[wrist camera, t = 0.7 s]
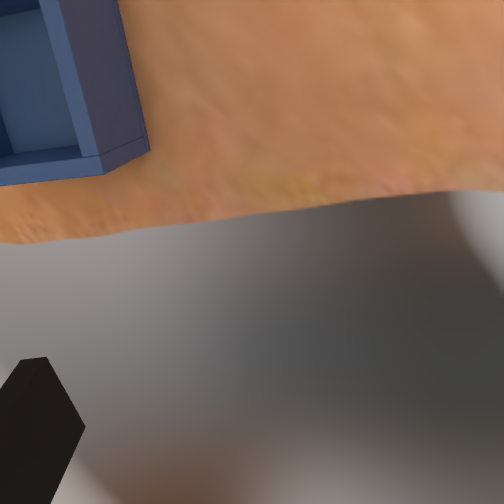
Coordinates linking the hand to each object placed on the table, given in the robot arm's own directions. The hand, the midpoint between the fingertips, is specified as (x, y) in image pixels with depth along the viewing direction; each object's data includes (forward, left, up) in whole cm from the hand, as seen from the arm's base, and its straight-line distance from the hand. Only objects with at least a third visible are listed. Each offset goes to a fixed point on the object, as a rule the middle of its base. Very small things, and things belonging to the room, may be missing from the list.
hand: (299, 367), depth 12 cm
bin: (-8, -20, -25) cm, 33 cm away
